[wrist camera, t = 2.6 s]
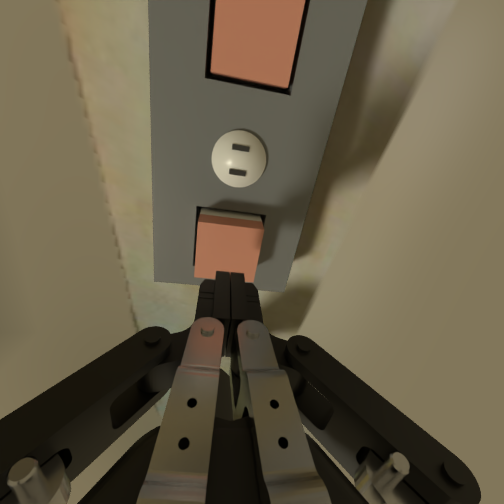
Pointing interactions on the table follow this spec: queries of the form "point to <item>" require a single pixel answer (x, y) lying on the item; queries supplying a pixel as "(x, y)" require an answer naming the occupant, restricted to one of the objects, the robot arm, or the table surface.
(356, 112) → the table surface
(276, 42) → the switch
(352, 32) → the power strip
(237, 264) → the switch
